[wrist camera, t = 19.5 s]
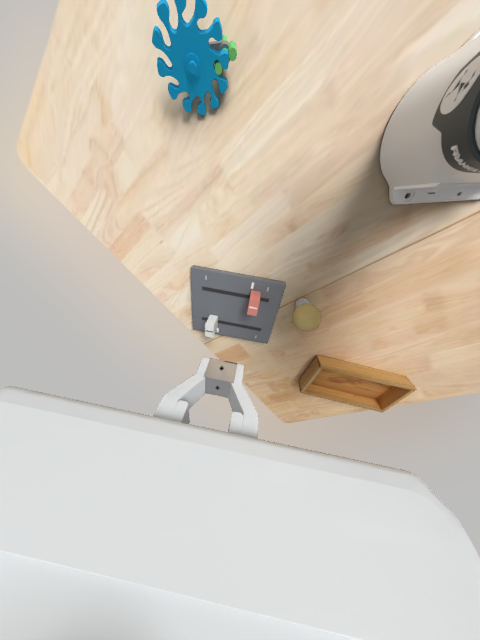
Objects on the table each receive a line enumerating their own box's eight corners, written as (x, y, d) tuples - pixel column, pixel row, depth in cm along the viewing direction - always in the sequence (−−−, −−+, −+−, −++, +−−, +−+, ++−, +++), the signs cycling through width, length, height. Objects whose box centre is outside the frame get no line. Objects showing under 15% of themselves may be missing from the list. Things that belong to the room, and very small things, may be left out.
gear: (173, 121, 28) (133, -2, 18) (173, 95, 29) (136, -34, 20) (239, 114, 28) (233, -15, 18) (237, 88, 29) (231, -47, 19)
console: (285, 282, 43) (285, 285, 41) (267, 339, 55) (267, 343, 53) (193, 265, 44) (190, 267, 42) (195, 325, 56) (192, 329, 54)
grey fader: (218, 315, 49) (213, 326, 45) (217, 327, 52) (213, 338, 48) (210, 314, 49) (205, 324, 45) (209, 326, 52) (204, 336, 48)
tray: (405, 375, 56) (418, 390, 51) (375, 398, 65) (383, 413, 60) (316, 352, 56) (320, 366, 51) (297, 379, 65) (300, 392, 60)
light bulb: (314, 311, 47) (324, 334, 39) (290, 314, 48) (295, 337, 40) (313, 290, 43) (324, 310, 35) (288, 294, 45) (292, 315, 37)
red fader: (260, 291, 43) (259, 300, 39) (257, 306, 46) (256, 316, 42) (251, 290, 43) (249, 299, 39) (248, 304, 46) (246, 314, 42)
